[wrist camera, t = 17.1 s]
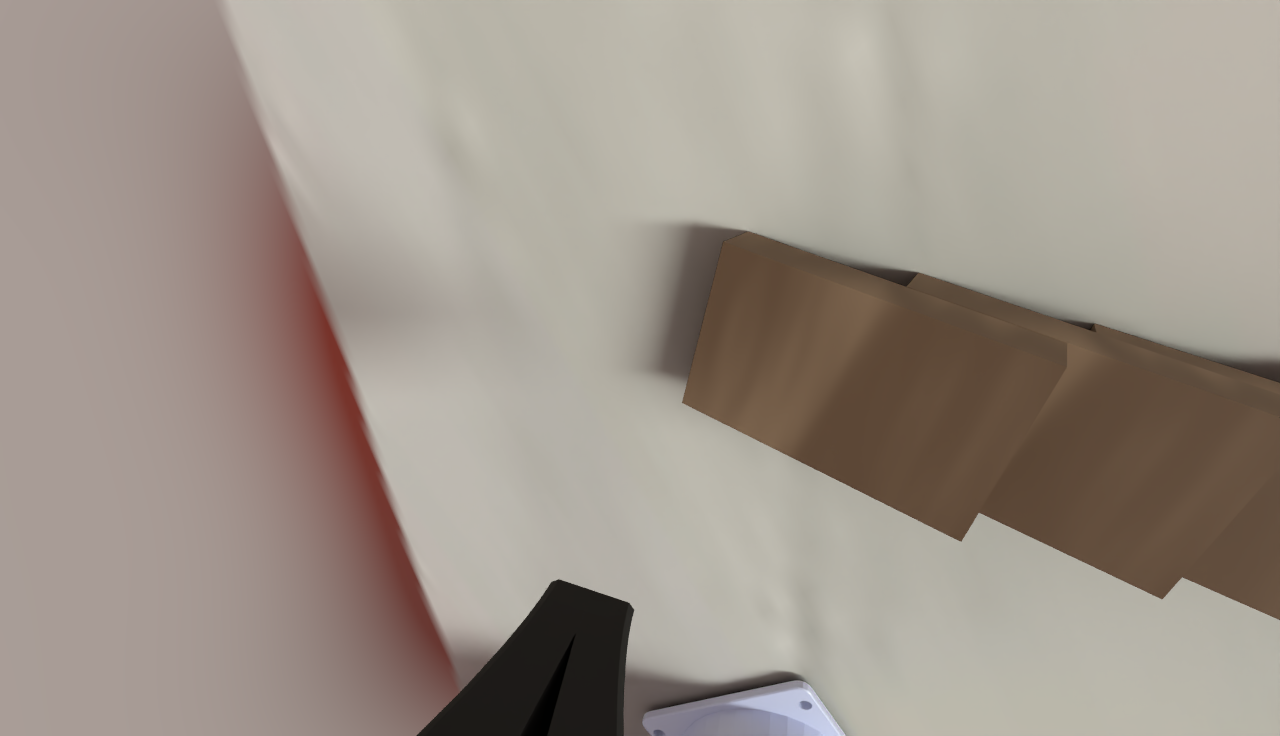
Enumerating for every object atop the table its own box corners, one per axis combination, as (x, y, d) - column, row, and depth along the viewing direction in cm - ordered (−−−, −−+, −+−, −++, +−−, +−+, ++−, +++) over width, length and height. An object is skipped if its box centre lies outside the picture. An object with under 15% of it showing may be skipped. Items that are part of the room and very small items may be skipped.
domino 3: (1094, 323, 16) (1515, 458, 13) (1005, 471, 19) (1343, 613, 16) (1098, 342, 15) (1566, 497, 12) (1003, 498, 17) (1370, 659, 14)
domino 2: (918, 272, 17) (1290, 398, 13) (854, 423, 19) (1154, 559, 16) (906, 286, 15) (1313, 428, 12) (838, 445, 18) (1162, 599, 15)
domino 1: (748, 231, 17) (1066, 343, 14) (706, 383, 20) (969, 508, 16) (723, 241, 16) (1067, 367, 13) (682, 402, 18) (961, 541, 15)
